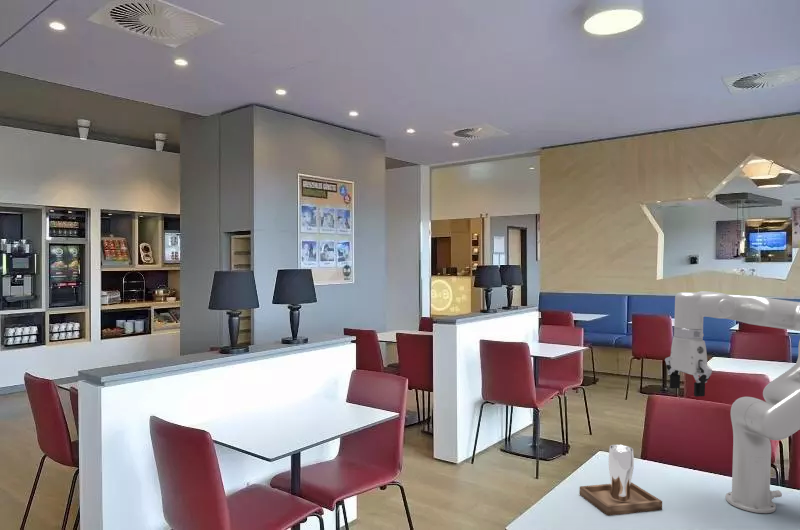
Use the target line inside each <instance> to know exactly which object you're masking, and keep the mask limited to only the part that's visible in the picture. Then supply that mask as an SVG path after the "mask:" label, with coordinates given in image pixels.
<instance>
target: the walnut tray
mask: <svg viewBox="0 0 800 530" xmlns="http://www.w3.org/2000/svg"><path fill="white" fill-rule="evenodd" d="M610 489H611V483H605V484H591V485H582V486H579V494H580V495H579V494H578V495H579V496H581V498H583V497H584V498H583V499H584V500H586V501H587V500H588V501H587V502H588V503H590V504H591V503H592V504H591V505H593V506H594V507H595V508H596V507H597V508H596V509H598V510H600V512H602V513H603V514H604V515H605V516H607V517H608V516H616V515H617V516H618V515H626V514H628V515H629V514H636V513H645V512H646V513H647V512H655V511H662V510H663V500H661V499H660V498H657V497H656V496H654V495H653V494H651V493H649V492H648V491H646V490H645V489H643V488H641V487H640V486H638V485H636V484H635V483H633V482H632V481H631V484H630V495H631V501H630V502H628V503H621V502H616V501H614V500H612V499H610V497H609V493H610Z"/></svg>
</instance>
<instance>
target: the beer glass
mask: <svg viewBox="0 0 800 530" xmlns="http://www.w3.org/2000/svg"><path fill="white" fill-rule="evenodd" d="M608 452H609V453H608V470H609V471H608V473H609V478H610V484H611V489H610V493H609V497H610V499H612V500H614V501H616V502H621V503H628V502H630V501H631V495H630V484H631V482H632V479H633V474H634V467H635V466H634V465H635V457H634V448H632V447H631V446H628V445H624V444H611V445H609V451H608Z"/></svg>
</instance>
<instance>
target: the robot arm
mask: <svg viewBox="0 0 800 530" xmlns="http://www.w3.org/2000/svg"><path fill="white" fill-rule="evenodd" d="M704 317H708V318H714V319H726V320H732V321H736V322H740V323H744V324H748V325H754V326H759V327H769V328H775V329H780V330H781V329H782V330H789V331H795V332H796V331H798V332H800V301H792V300H787V299H786V300H785V299H778V298H777V299H776V298H771V297H765V296H754V295H736V294H727V293H724V292H717V291H710V290H709V291H706V290H700V291H697V292H695V291H694V292H690V291H681V292H677V293H676V294H675V297H674V321H673V323H674V327H673V328H674V330H673V338H672V342H671V346H670V347H671V348H670V356H668V357H665V359H664V361H665V366H666V369H667V370H668V373H667V374H668V375H669V388H670V389H680V386H681V375H680V373H684V374H687V375H691V376H693V378H694V380H695V382H694V383H693V395H694V397H696V398H697V397H705V395H706V383H708V380H709V379H711V378H710V377H711V376H712V374H713V373H712V372H713V370H712V369H713V368H711V367H710V366H709V365H708V354H707V347H706V346H707V345H706V341H705V340H703V339H704V338H703V337H704V336H705V334H704ZM797 349H798V355H797V356H798V357H797V360H796V363H794V364H793V366H792V367H791V368H789V369H788V370H786V371H785V372H783V373H782V374H780V375H779V376H778V377H776V378H775V379H773V380H771V381H769V383H768V384H767V385H766V386H764V388H763V391H762V397H763V399H764V400H762V399H759V398H756V397H754V396H753V397H752V396H742V397H739V398H737V399H735V400H734V402H733V403H732V405H731V408H730V421H731V425H732V436H733V437H732V438H733V443H732V445H733V446H732V474H731V475H732V477H731V491H729V492H727V493H726V494H725V500H726V502H727V503H728V504H730V505H731V506H733V507H736V508H737V509H740V510H743V511H746V512H751V513H756V514H757V513H758V514H770V513H774V512H775V511H776V509H777V506H776V504H775V502H773V500H774V499H775V498H782V496H783V493H782V492H781V491H780V490H771V464H772V462H771V461H772V458H771V457H772V446H771V445H772V444H771V440H772V441H782V440H785V439H787V438H789V437H790V436H791V437H792V436H793V434H795V433H796V432H798V431H799V430H800V339H799V342H798V348H797Z"/></svg>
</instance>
